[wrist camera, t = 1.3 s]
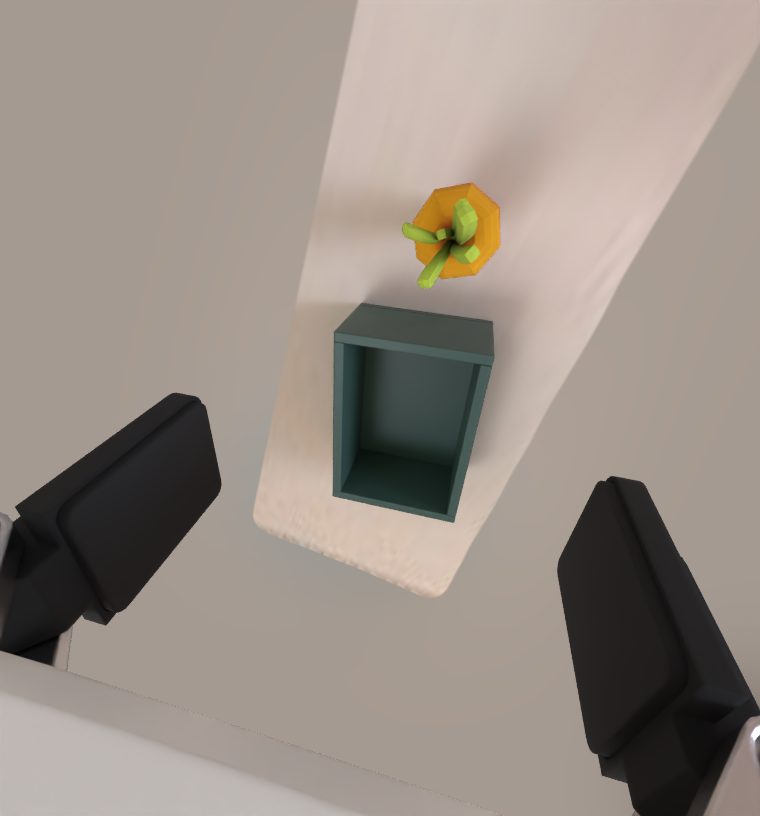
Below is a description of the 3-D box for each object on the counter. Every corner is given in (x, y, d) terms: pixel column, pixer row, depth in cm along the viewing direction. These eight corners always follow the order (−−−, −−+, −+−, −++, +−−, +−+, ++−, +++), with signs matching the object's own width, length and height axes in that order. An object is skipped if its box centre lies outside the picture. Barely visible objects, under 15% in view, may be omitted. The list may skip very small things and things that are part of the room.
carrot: (450, 263, 32) (426, 322, 19) (420, 204, 30) (373, 227, 18) (509, 228, 30) (527, 270, 17) (480, 163, 28) (476, 155, 15)
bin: (361, 302, 35) (333, 331, 29) (492, 321, 33) (494, 356, 27) (354, 449, 44) (332, 496, 37) (458, 470, 42) (454, 523, 36)
